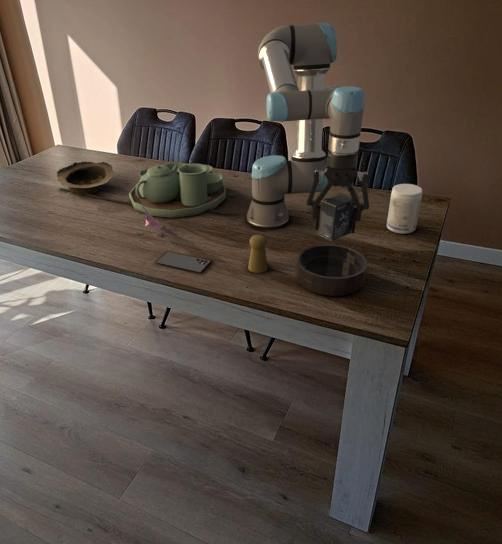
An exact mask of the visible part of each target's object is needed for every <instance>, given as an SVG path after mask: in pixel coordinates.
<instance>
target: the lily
mask: <svg viewBox="0 0 502 544" xmlns="http://www.w3.org/2000/svg"><path fill="white" fill-rule="evenodd" d="M142 207H143V206H142ZM143 209H144V211H145V213H142V214H141V216H142V218H144V219H145V225H144V227H142V230H141V232H140V234H142V233H143V231H144V229H145V228H146V227H151V228H152V230H153V231H156V232H157V233H158V234H159V235H160V236H162V234H161V231H160V230H159V229H163V226H162V225H161V224H160V222H159V221H158V220H157V219H155V218H154V216H152V215H151V214H149V213H148V211H147V210H146V209H145V208H144V207H143Z"/></svg>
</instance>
